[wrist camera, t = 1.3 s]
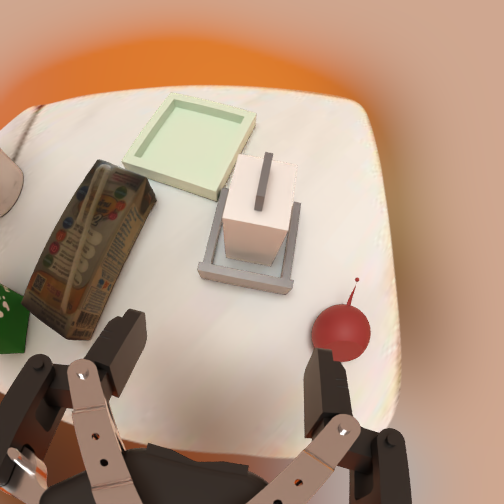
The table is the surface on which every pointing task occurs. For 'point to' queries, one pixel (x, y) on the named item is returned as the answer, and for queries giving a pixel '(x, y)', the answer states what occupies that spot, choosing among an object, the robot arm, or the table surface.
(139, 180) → the beverage carton
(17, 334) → the milk carton
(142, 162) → the tray
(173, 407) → the table surface
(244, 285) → the bay
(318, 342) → the fruit
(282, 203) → the white tall block
